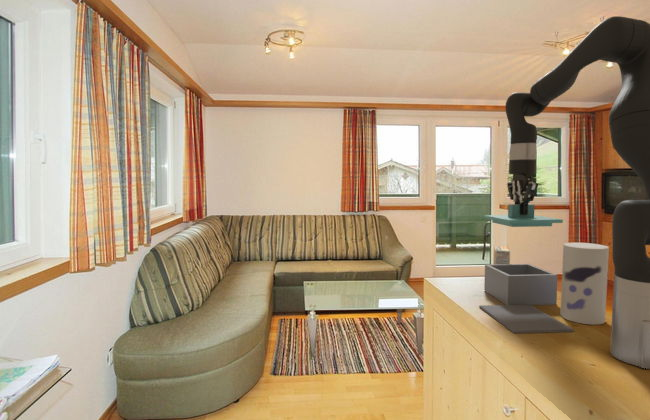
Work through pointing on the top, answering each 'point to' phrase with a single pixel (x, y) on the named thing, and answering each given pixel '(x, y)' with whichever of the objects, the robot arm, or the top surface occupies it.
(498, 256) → the supplement box
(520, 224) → the lid
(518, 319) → the mat
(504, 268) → the storage box
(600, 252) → the container
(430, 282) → the top surface
